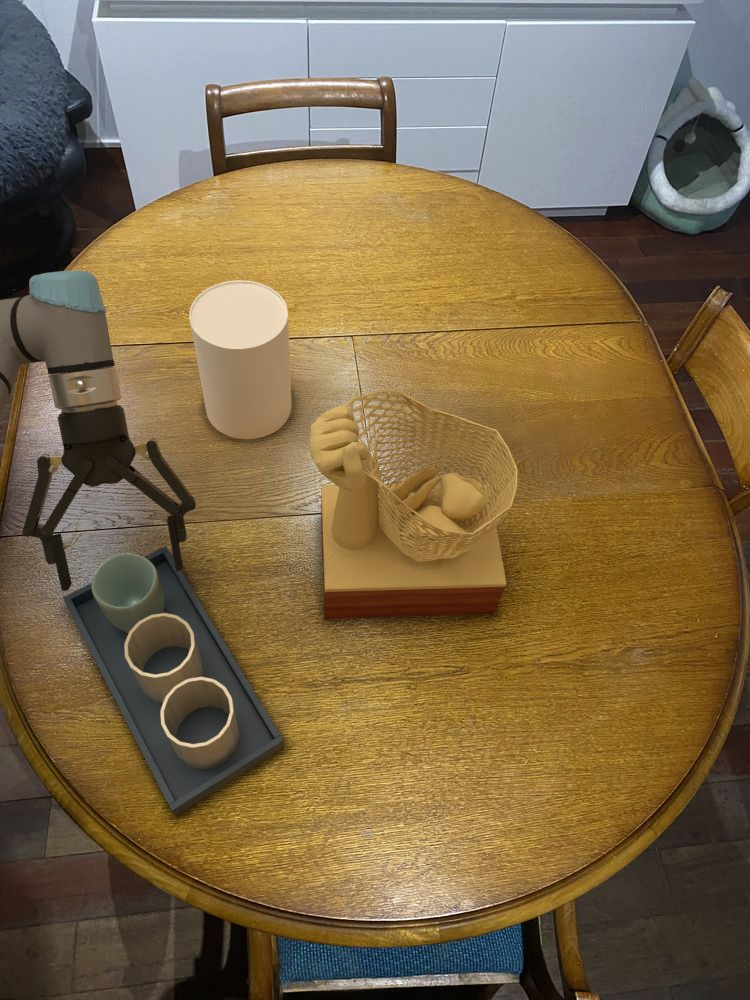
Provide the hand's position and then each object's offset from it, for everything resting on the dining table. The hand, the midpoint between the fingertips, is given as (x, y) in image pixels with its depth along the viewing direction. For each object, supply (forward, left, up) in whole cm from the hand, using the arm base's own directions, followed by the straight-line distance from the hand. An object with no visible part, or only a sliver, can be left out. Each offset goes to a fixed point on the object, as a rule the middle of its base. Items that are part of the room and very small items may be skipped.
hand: (124, 577), depth 97 cm
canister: (-23, +30, -9) cm, 39 cm away
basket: (+13, +34, -9) cm, 37 cm away
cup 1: (+1, 0, -9) cm, 9 cm away
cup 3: (+20, 0, -9) cm, 22 cm away
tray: (+11, 0, -9) cm, 14 cm away
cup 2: (+11, 0, -9) cm, 14 cm away
